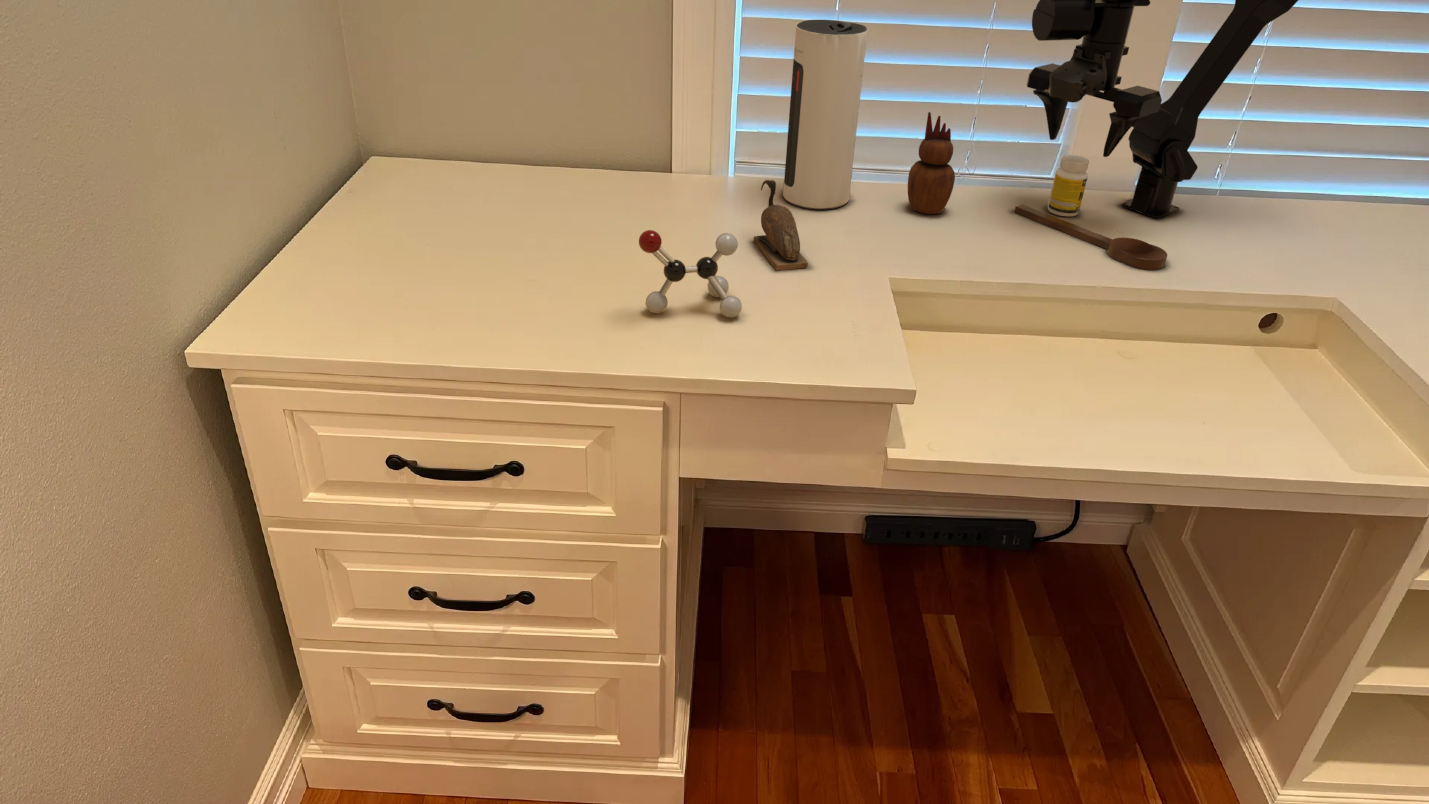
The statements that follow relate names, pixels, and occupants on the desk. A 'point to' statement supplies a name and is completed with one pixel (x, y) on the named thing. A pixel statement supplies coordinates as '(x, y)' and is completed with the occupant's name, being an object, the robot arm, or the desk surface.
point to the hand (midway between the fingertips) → (1078, 147)
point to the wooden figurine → (932, 171)
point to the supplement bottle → (1068, 186)
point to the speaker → (823, 112)
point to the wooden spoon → (1104, 241)
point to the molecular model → (704, 269)
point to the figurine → (779, 235)
